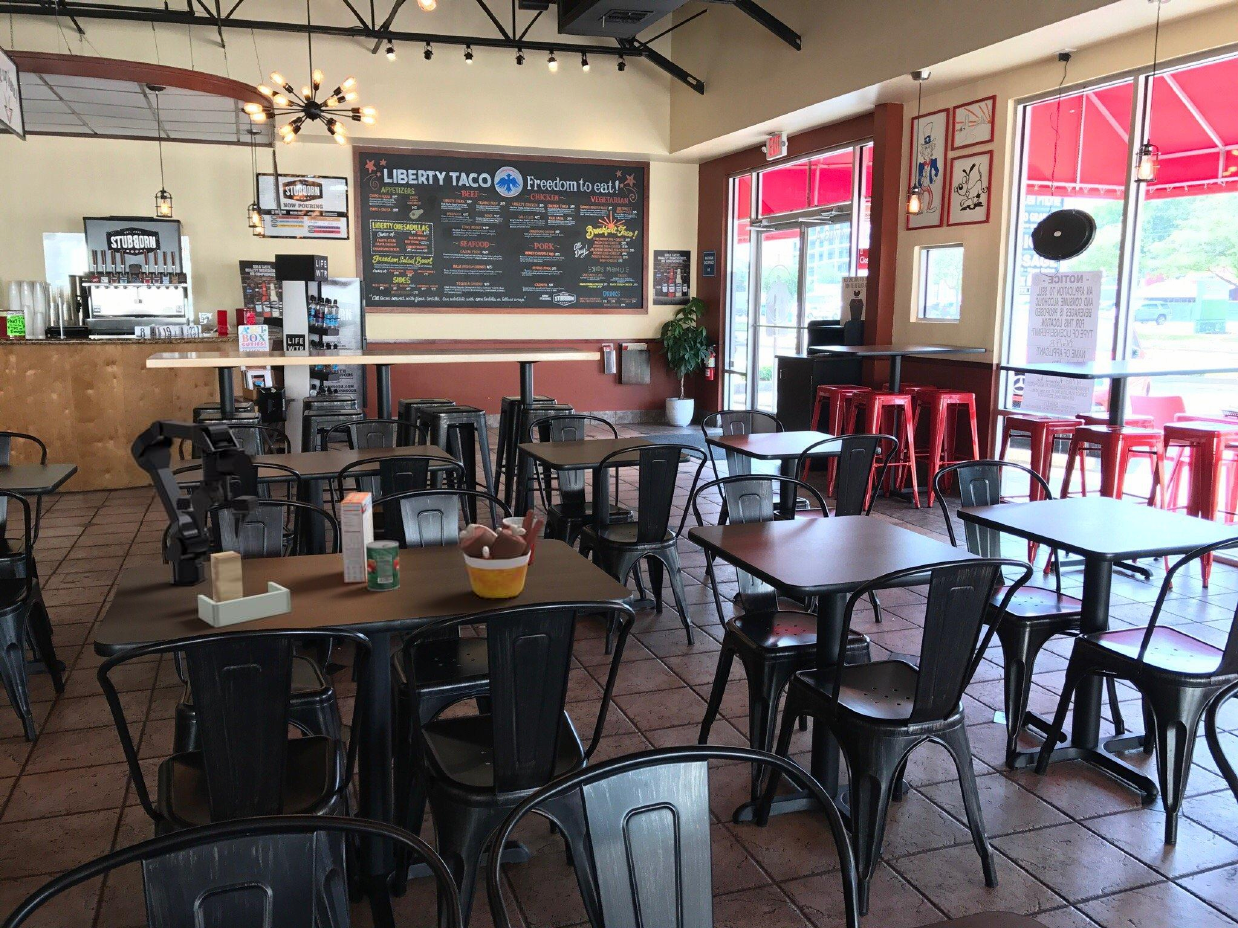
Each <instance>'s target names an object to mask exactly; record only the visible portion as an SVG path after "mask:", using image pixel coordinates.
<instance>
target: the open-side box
mask: <svg viewBox="0 0 1238 928" xmlns="http://www.w3.org/2000/svg"><path fill="white" fill-rule="evenodd" d="M267 590H268V592H266V593H262V594H257V595H251V596H246V597H243V598H240V599H235V600H230V601H224V602H219V603H216V602H214V601H213V599H211V598H209V597H207V596H205V595H203V594H199V595H197V604H198V606H197V607H198V608H197V609H198V618H200V619H201V620H203V621H204V622H205V623H208V624H209V625H210V626H212V627H214V628H219V627H225V626H230V625H233V624H239V623H243V622H248V621H253V620H258V619H262V618H266V617H272V616H278V615H282V614H286V613H290V612H292V605H291V604H292V603H291V590H290V589H288V588H286V587H283V586H282V585H280V584H277V583H275V582H273V581H268V582H267Z"/></svg>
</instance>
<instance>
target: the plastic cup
mask: <svg viewBox="0 0 1238 928" xmlns="http://www.w3.org/2000/svg"><path fill="white" fill-rule="evenodd" d="M524 518H525V517H522V516H521V517H520V516H519V517H516V516H515V517H514V516H513V517H507V518H506V517H505V518H503V519H502V523H503V525H504V529H506V530H507V529H509V528H510V525H516V526H517V527H520V528H522V522H523V519H524ZM536 520H537V519H535V518H534V522H533V526H534V524H535V522H536ZM537 540H538V538H537V539H536V540H535V542H534V544H533V546H532V547H531V549H530V550H531V553H530V556H529V561H528V564H530V565H532V564H533V563H532V562H533V561H534V558H535V552H536V548H537V542H538V541H537ZM531 563H532V564H531Z"/></svg>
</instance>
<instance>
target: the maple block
mask: <svg viewBox="0 0 1238 928" xmlns="http://www.w3.org/2000/svg"><path fill="white" fill-rule="evenodd" d="M210 565H211V567H210V568H211V582H212V583H211V584H212V598H213V599H212V601H214V602H216V603H219V602H224V601H230V600H235V599H240V598H244V593H243V592H244V589H243V588H244V587H243V570H242V555H241V554H239V553H238V552H235V551H233V550H231V551H225V552H223V551H222V552H219V553H218V552H217V553H213V554H212V553H211V554H210Z"/></svg>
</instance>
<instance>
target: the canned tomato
mask: <svg viewBox="0 0 1238 928" xmlns="http://www.w3.org/2000/svg"><path fill="white" fill-rule="evenodd" d="M399 551H400V550H399V542H398V541H395V540H373V542H370V543H367V544H366V557H367V558H366V559H367V581H366V583H367V587H366V589H368V591H371V592H372V591H373V592H388V590H389V591H394V590H397V589H398V587H399V588H400V586H401V584H400V554H399V553H400V552H399ZM393 589H394V590H393Z"/></svg>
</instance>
